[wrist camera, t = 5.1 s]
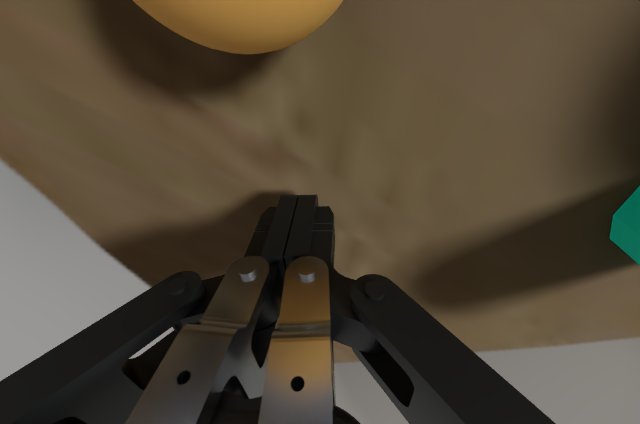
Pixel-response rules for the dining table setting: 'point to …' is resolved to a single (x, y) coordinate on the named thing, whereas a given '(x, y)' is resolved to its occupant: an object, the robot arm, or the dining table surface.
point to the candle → (628, 226)
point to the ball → (241, 21)
